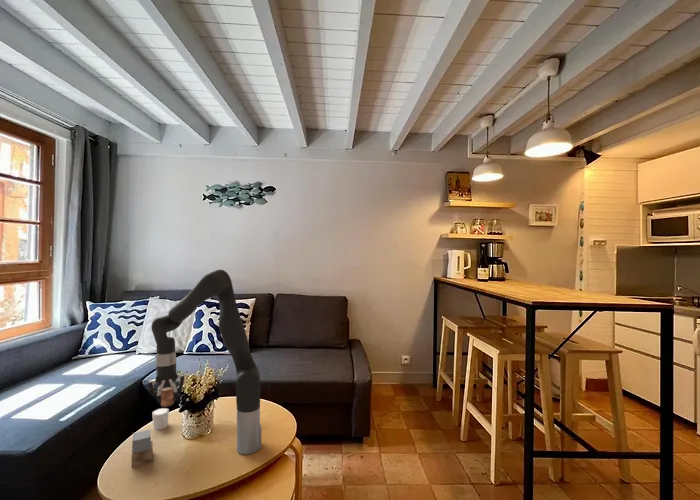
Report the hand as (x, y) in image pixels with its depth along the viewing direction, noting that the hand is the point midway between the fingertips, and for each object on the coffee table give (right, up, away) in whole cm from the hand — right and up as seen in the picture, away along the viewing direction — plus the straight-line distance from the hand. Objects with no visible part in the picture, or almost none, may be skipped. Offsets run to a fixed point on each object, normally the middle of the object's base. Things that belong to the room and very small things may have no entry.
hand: (167, 401), depth 152 cm
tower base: (-3, -17, -13) cm, 22 cm away
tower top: (-3, -12, -13) cm, 18 cm away
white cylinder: (-9, -16, +12) cm, 22 cm away
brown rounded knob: (0, -1, 0) cm, 1 cm away
